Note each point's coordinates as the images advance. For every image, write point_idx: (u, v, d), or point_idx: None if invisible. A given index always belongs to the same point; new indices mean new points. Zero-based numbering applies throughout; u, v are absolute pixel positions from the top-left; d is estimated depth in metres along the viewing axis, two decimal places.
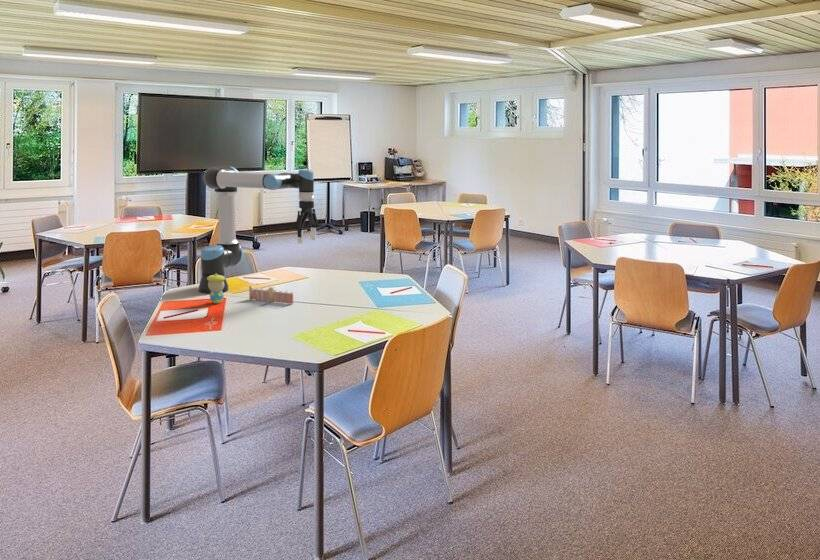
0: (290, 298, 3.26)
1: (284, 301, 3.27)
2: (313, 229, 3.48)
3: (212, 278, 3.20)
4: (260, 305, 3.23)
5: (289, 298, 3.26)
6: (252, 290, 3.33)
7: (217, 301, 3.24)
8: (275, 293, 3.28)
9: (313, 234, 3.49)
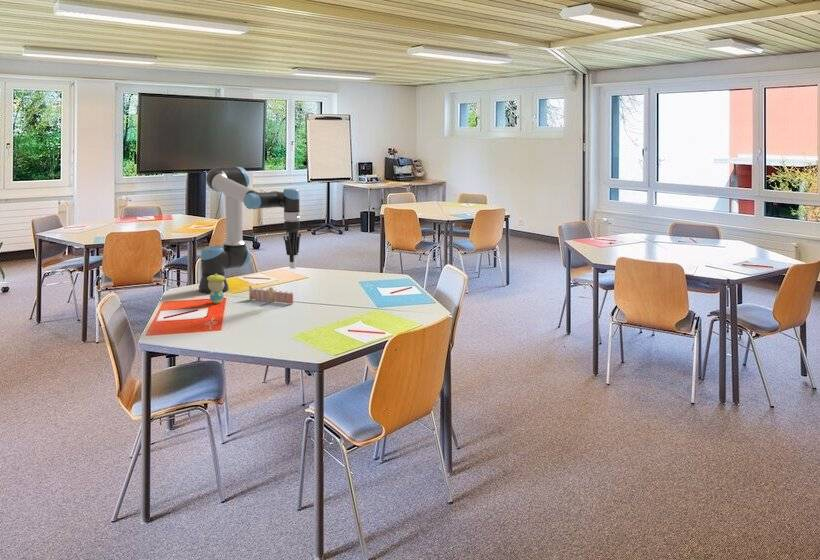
0: (290, 298, 3.26)
1: (284, 301, 3.27)
2: None
3: (212, 278, 3.20)
4: (260, 305, 3.23)
5: (289, 298, 3.26)
6: (252, 290, 3.33)
7: (217, 301, 3.24)
8: (275, 293, 3.28)
9: None
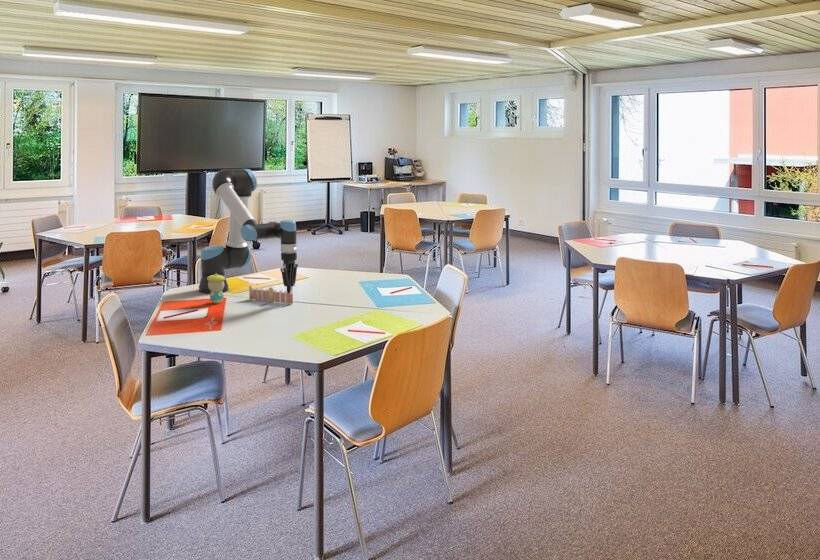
0: (290, 298, 3.25)
1: (284, 301, 3.27)
2: None
3: (212, 278, 3.20)
4: (260, 305, 3.23)
5: (288, 298, 3.26)
6: (252, 290, 3.33)
7: (217, 301, 3.24)
8: (275, 293, 3.28)
9: None
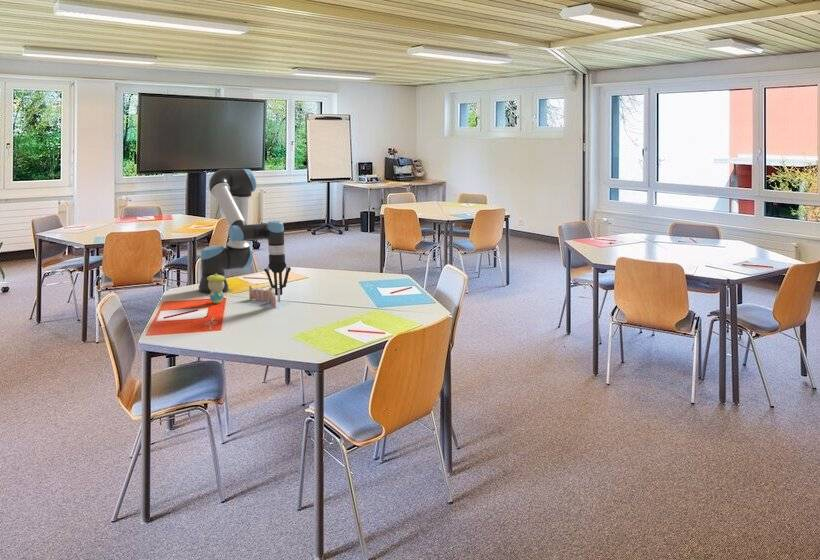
0: (273, 301, 3.20)
1: (272, 303, 3.23)
2: None
3: (212, 278, 3.20)
4: (260, 305, 3.23)
5: (273, 300, 3.20)
6: (252, 290, 3.33)
7: (217, 301, 3.24)
8: (271, 293, 3.27)
9: None
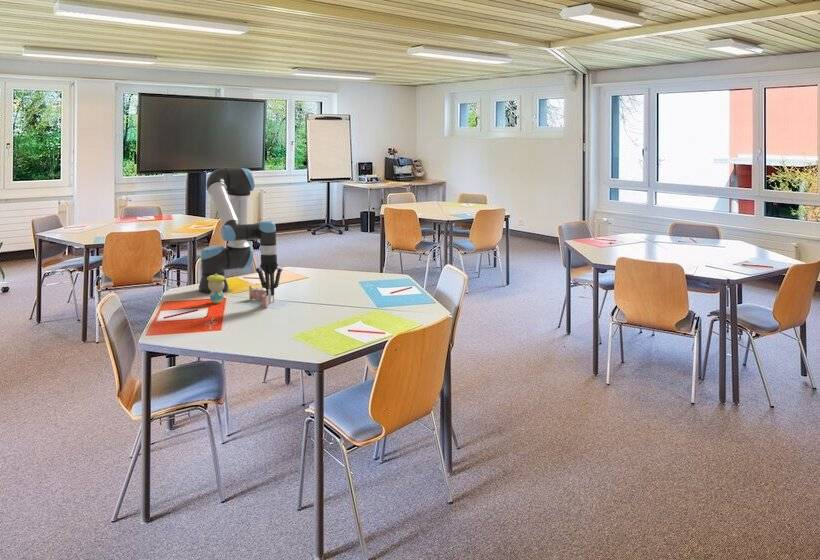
0: None
1: None
2: None
3: (212, 278, 3.20)
4: (260, 305, 3.23)
5: None
6: (252, 290, 3.33)
7: (217, 301, 3.24)
8: None
9: None
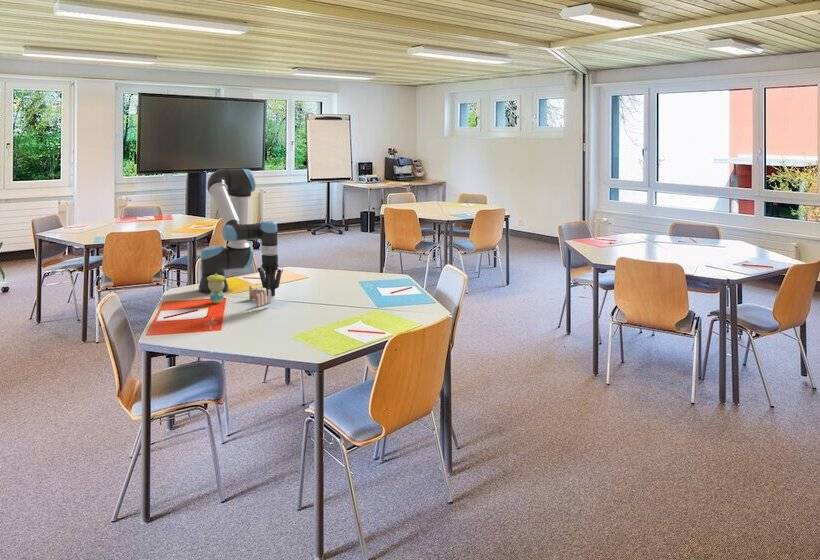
0: None
1: None
2: None
3: (212, 278, 3.20)
4: None
5: None
6: (252, 290, 3.33)
7: (217, 301, 3.24)
8: None
9: None
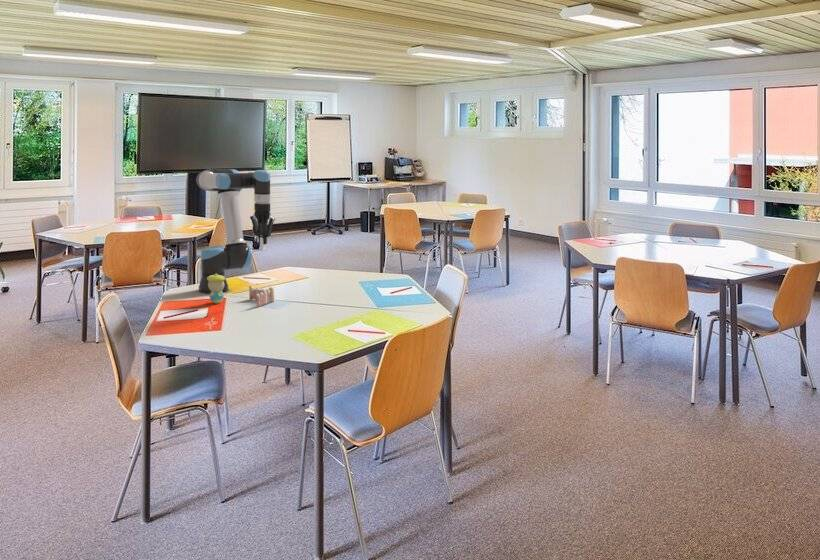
0: None
1: None
2: None
3: (212, 278, 3.20)
4: None
5: None
6: (252, 290, 3.33)
7: (217, 301, 3.24)
8: None
9: None
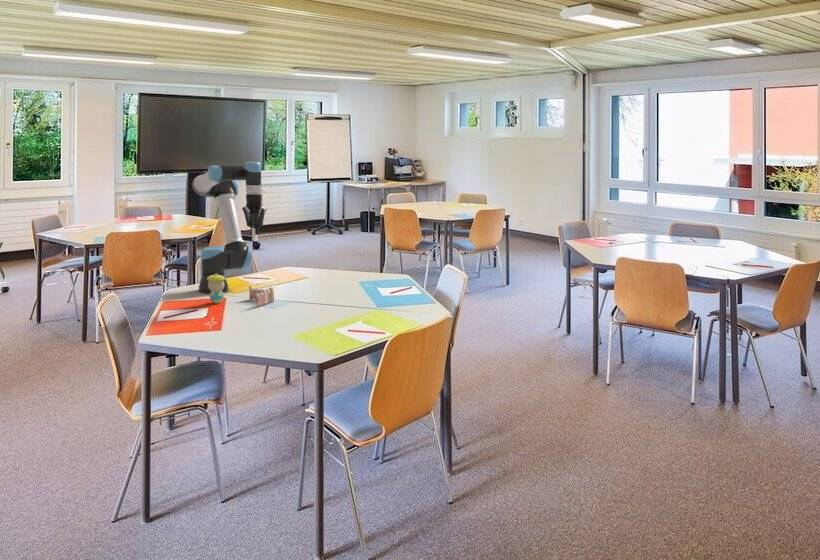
0: None
1: None
2: None
3: (212, 278, 3.20)
4: None
5: None
6: (252, 290, 3.33)
7: (217, 301, 3.24)
8: None
9: None
